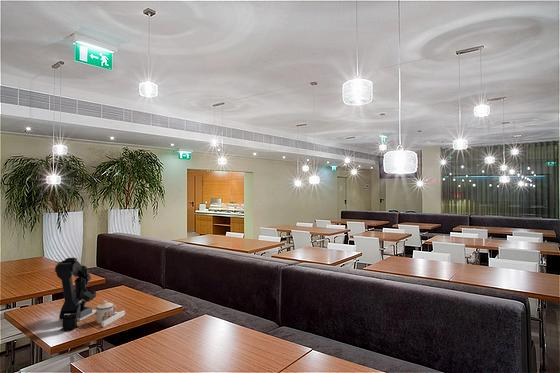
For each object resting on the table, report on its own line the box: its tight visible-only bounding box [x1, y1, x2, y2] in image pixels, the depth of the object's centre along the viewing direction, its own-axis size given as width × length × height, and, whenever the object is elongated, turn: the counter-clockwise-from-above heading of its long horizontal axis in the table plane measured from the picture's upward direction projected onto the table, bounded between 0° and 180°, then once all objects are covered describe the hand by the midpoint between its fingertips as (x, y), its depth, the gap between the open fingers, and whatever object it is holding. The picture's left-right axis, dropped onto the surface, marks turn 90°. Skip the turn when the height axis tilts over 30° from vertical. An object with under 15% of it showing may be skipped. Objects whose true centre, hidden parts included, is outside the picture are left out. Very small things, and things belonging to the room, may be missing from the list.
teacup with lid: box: [95, 300, 117, 325], centre depth 196 cm, size 12×9×12 cm
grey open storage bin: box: [74, 305, 126, 328], centre depth 198 cm, size 18×26×5 cm
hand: (80, 313), depth 200 cm, fingers closed, pressing on grey open storage bin
